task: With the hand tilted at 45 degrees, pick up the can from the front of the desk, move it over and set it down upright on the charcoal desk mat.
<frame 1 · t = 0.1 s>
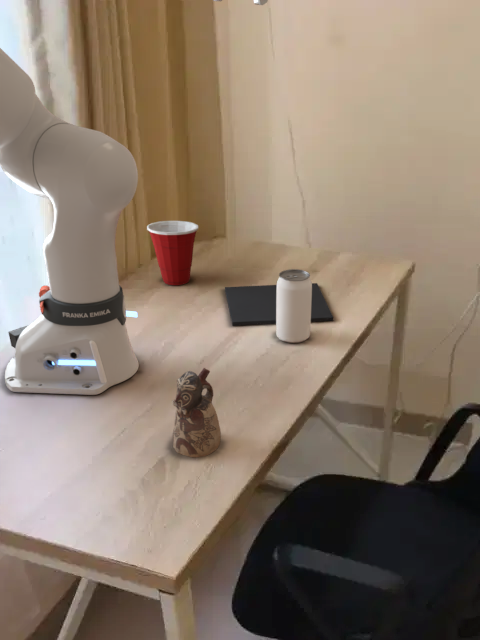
hand: (240, 1, 121), 52 cm above the table, tool tilted 20°, fingers open, 8 cm apart
plastic cup: (176, 281, 164), on the table
figurine: (197, 444, 112), on the table
desk mat: (277, 305, 153), on the table
can: (293, 337, 142), on the table
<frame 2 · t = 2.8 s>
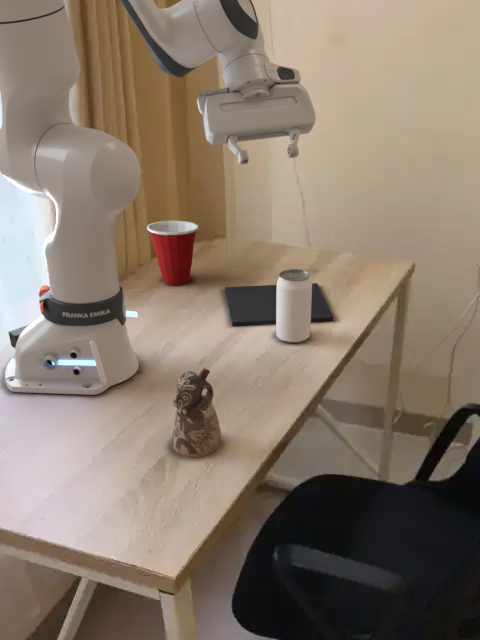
hand: (269, 159, 134), 29 cm above the table, tool tilted 40°, fingers open, 8 cm apart
nothing on the table moved.
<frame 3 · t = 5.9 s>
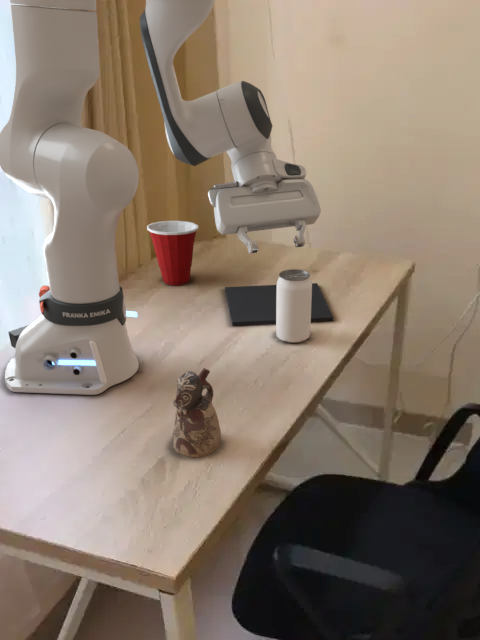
hand: (277, 248, 139), 14 cm above the table, tool tilted 45°, fingers open, 8 cm apart
nothing on the table moved.
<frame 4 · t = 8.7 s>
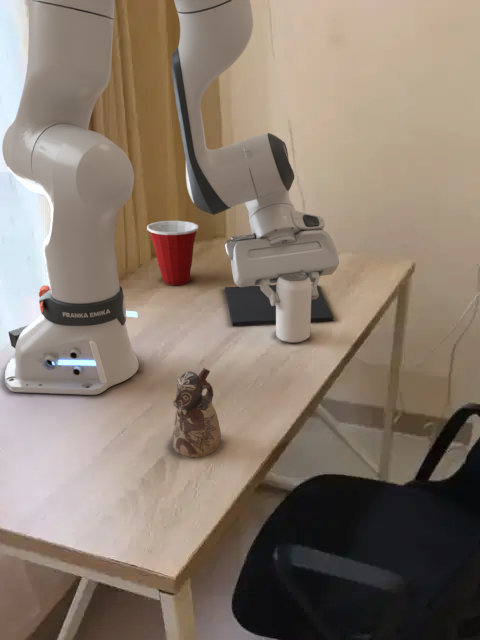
hand: (295, 301, 137), 7 cm above the table, tool tilted 45°, fingers closed on can, 6 cm apart
can: (292, 337, 142), on the table, touching gripper
everything else where it was.
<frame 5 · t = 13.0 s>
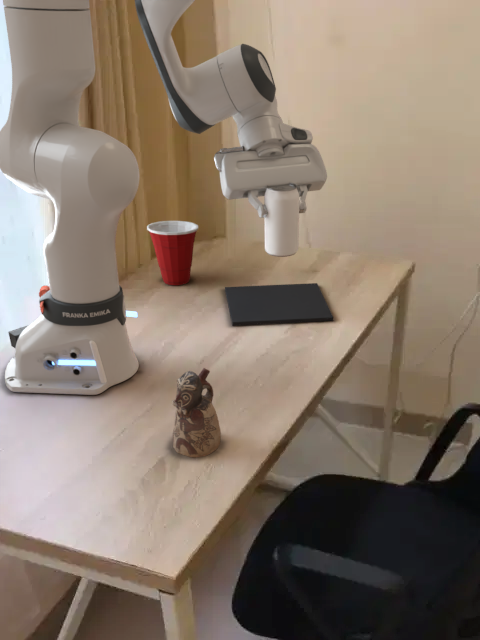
hand: (283, 213, 138), 19 cm above the table, tool tilted 45°, fingers closed on can, 6 cm apart
can: (281, 252, 143), point 12 cm above the table, touching gripper
everything else where it was.
when the fingers open (8 cm above the table, at t = 17.3 s): can stays where it is, resting on desk mat.
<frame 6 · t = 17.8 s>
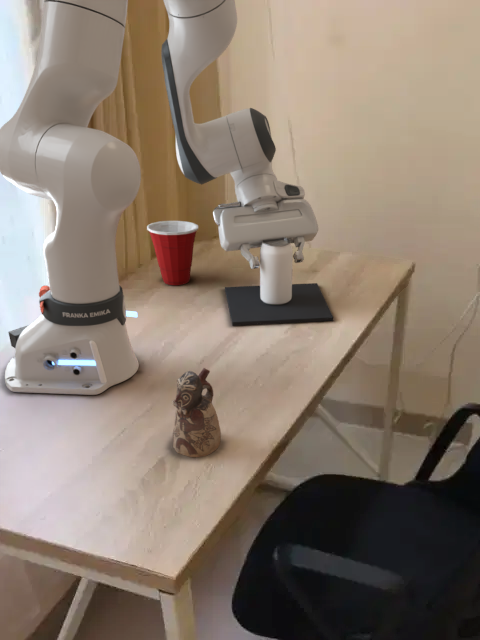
hand: (277, 264, 149), 8 cm above the table, tool tilted 45°, fingers open, 8 cm apart
can: (275, 300, 154), point 1 cm above the table, touching desk mat
everything else where it was.
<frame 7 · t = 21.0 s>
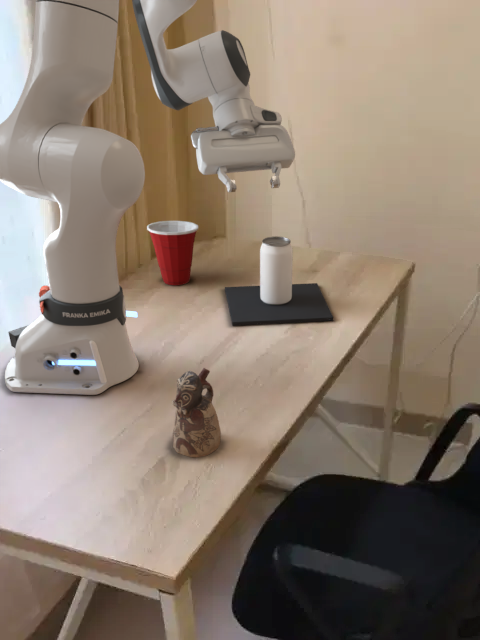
hand: (254, 188, 151), 20 cm above the table, tool tilted 45°, fingers open, 8 cm apart
nothing on the table moved.
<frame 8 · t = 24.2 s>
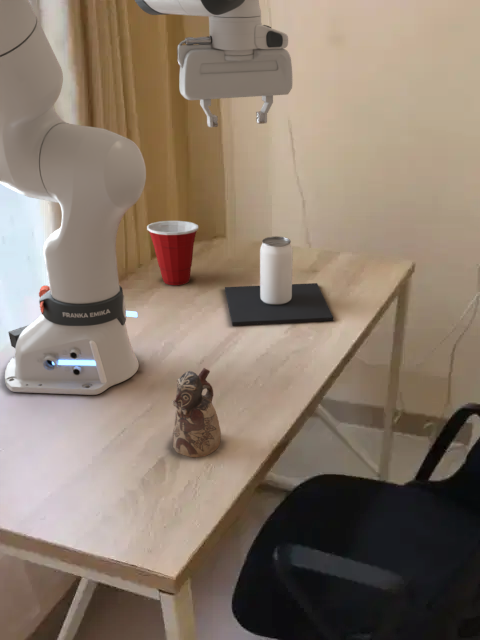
hand: (237, 124, 136), 33 cm above the table, tool pointing down, fingers open, 8 cm apart
nothing on the table moved.
at the end: can inside the target area on the desk mat (0.5 cm from its centre), point 0.6 cm above the desk mat's base; can tilted 0°; the gripper is holding nothing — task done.
